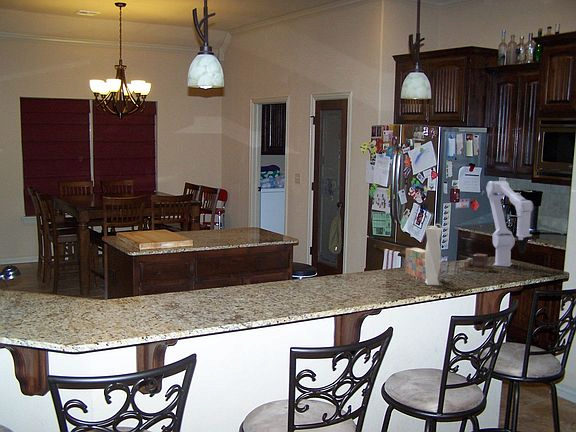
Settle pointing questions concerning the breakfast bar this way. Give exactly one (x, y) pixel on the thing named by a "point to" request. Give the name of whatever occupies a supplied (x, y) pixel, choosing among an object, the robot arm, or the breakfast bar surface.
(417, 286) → the breakfast bar surface
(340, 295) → the breakfast bar surface
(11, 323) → the breakfast bar surface
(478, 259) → the box
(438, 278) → the skyscraper
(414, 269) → the stack of blocks
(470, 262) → the cradle
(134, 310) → the breakfast bar surface
